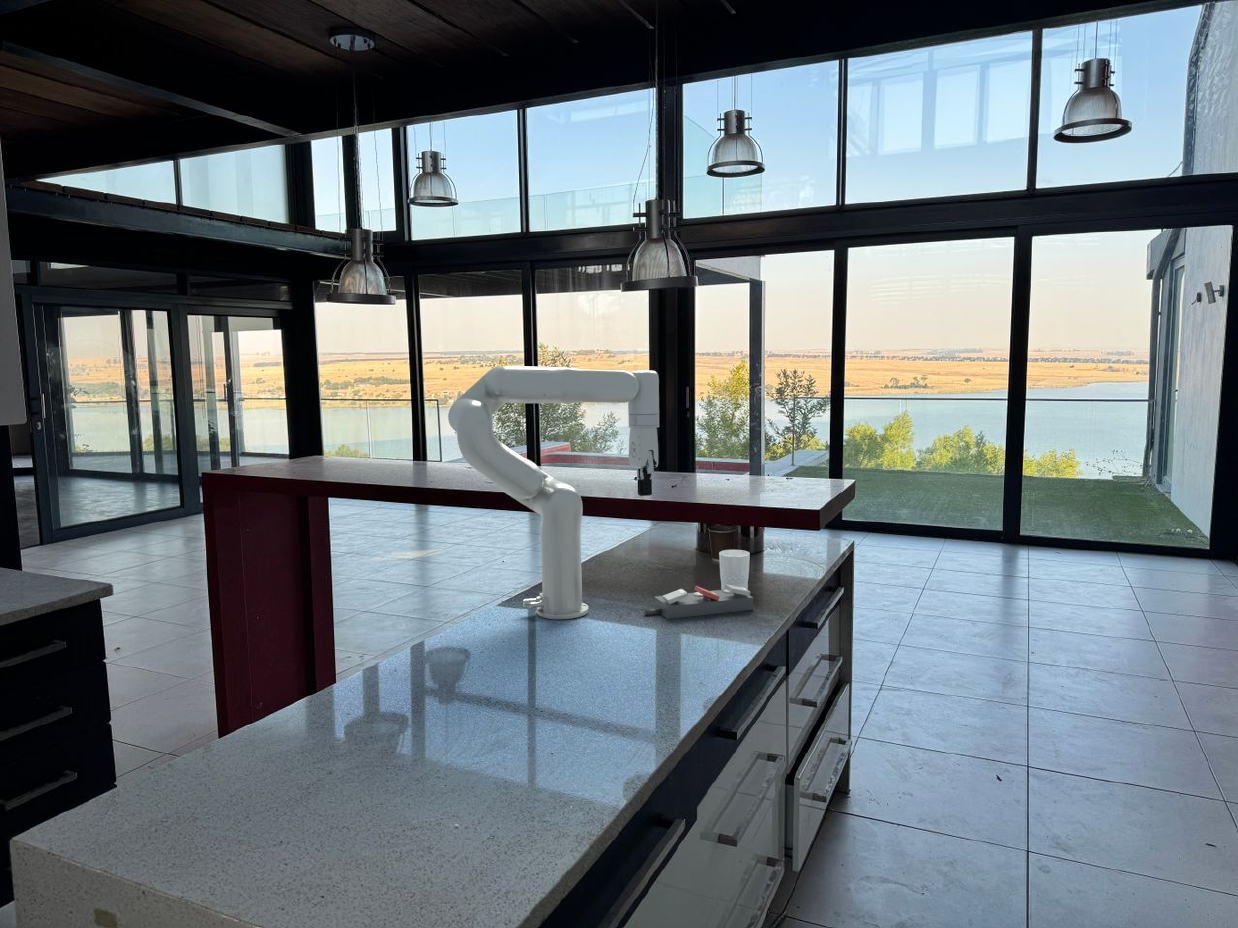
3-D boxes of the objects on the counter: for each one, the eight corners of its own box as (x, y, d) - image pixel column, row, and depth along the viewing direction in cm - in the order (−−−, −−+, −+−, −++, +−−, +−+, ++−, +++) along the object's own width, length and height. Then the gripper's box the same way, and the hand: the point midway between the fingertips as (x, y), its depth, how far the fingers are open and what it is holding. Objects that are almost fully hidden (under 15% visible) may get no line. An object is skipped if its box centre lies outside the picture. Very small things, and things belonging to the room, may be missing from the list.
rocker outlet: (731, 592, 205) (732, 587, 205) (724, 588, 209) (725, 583, 209) (749, 595, 207) (750, 591, 207) (742, 591, 211) (743, 587, 211)
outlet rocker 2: (700, 593, 203) (702, 589, 203) (694, 589, 207) (695, 585, 207) (718, 600, 205) (719, 596, 205) (711, 596, 208) (713, 592, 208)
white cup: (751, 594, 221) (751, 556, 219) (720, 594, 221) (720, 556, 219) (747, 586, 228) (747, 549, 227) (717, 586, 229) (717, 549, 227)
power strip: (651, 620, 200) (651, 605, 199) (639, 610, 208) (639, 595, 208) (753, 609, 207) (753, 595, 207) (737, 599, 216) (737, 585, 215)
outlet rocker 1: (669, 604, 201) (668, 599, 201) (663, 599, 205) (662, 595, 205) (688, 596, 202) (687, 592, 202) (682, 592, 206) (681, 588, 206)
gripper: (620, 419, 216) (621, 491, 218) (638, 423, 202) (639, 500, 204) (648, 418, 218) (649, 490, 220) (668, 422, 204) (669, 498, 206)
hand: (644, 495), depth 212 cm, fingers closed
